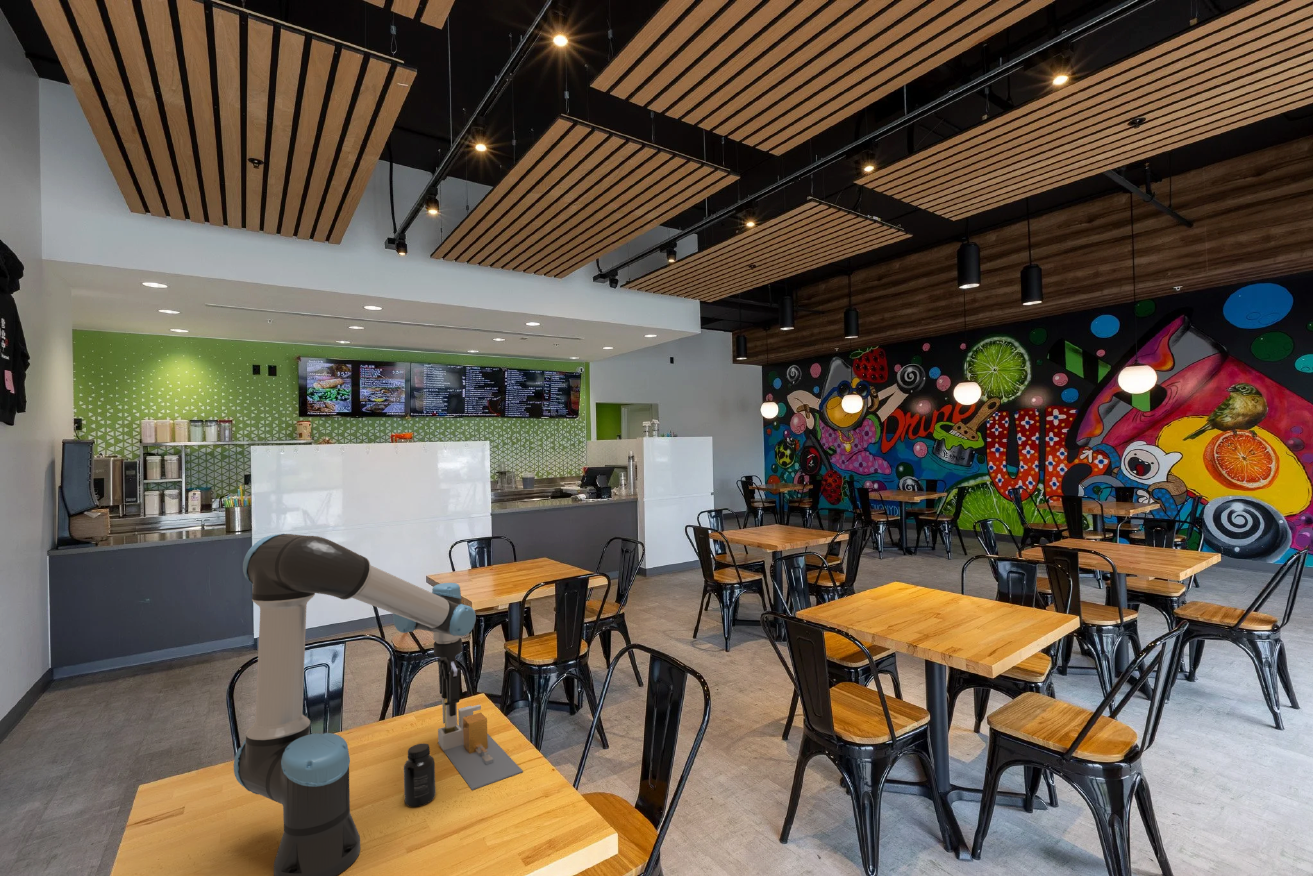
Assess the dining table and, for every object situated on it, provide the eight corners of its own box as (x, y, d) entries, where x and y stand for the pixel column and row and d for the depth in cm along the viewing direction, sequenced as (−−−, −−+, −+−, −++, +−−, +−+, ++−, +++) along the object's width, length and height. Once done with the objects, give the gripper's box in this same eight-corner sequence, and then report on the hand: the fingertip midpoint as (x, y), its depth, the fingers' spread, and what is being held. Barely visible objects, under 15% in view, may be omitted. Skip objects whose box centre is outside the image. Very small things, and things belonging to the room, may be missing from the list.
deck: (523, 772, 152) (522, 739, 152) (472, 790, 145) (471, 755, 145) (483, 729, 177) (482, 701, 177) (437, 743, 169) (436, 713, 169)
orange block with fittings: (499, 760, 157) (498, 729, 158) (480, 766, 155) (479, 735, 155) (481, 741, 169) (480, 712, 169) (463, 746, 166) (462, 717, 166)
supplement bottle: (440, 791, 145) (439, 741, 145) (427, 808, 138) (425, 755, 138) (413, 790, 145) (412, 740, 145) (398, 807, 138) (397, 755, 139)
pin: (456, 742, 167) (455, 698, 168) (447, 745, 166) (446, 701, 166) (453, 738, 169) (452, 695, 170) (444, 741, 168) (443, 698, 168)
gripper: (470, 643, 164) (472, 730, 163) (452, 630, 177) (454, 710, 177) (442, 649, 160) (444, 738, 159) (426, 635, 173) (428, 718, 172)
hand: (450, 723), depth 168 cm, fingers open, 3 cm apart
